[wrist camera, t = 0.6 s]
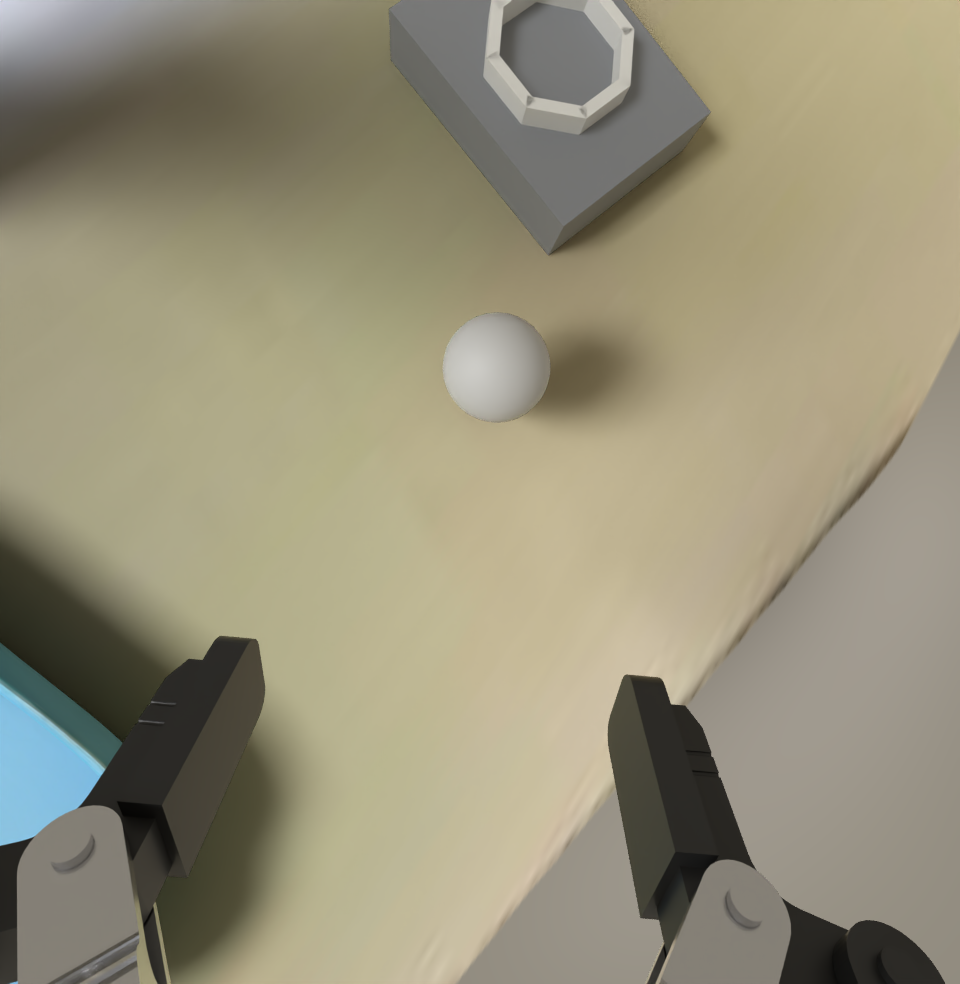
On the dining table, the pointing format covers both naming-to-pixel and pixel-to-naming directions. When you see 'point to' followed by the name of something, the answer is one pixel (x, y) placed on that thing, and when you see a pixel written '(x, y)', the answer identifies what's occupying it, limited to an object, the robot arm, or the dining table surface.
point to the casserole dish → (44, 751)
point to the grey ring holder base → (548, 100)
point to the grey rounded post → (496, 367)
